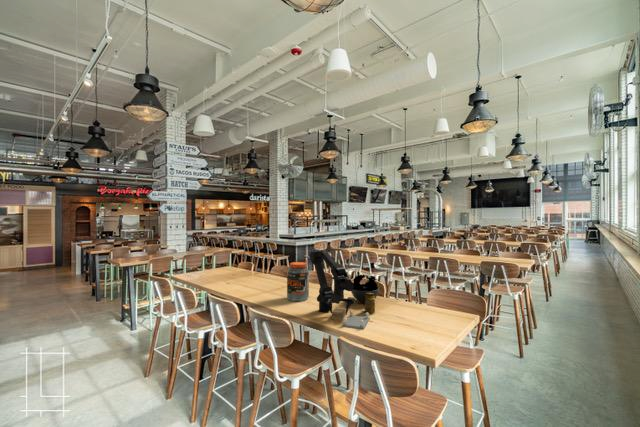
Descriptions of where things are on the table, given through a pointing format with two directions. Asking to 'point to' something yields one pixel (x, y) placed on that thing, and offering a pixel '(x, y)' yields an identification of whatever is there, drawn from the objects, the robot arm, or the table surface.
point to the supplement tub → (298, 281)
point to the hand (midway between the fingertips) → (338, 313)
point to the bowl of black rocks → (364, 288)
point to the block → (338, 313)
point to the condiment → (369, 304)
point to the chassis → (356, 321)
